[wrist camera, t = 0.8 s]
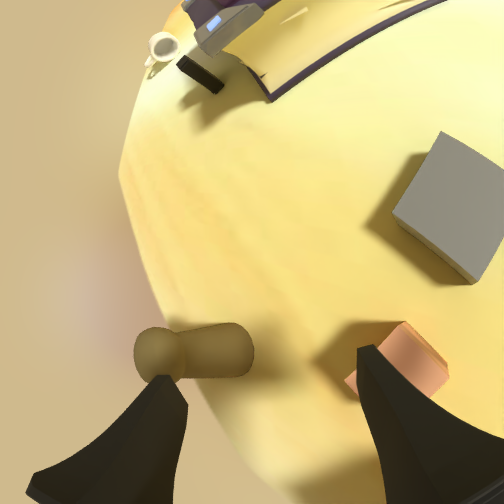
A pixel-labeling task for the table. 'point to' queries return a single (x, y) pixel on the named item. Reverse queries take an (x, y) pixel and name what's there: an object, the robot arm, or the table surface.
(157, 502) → the robot arm
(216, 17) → the book
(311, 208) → the table surface
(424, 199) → the gray block
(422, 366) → the terracotta cube
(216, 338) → the cork
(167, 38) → the mug
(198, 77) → the ink cartridge
